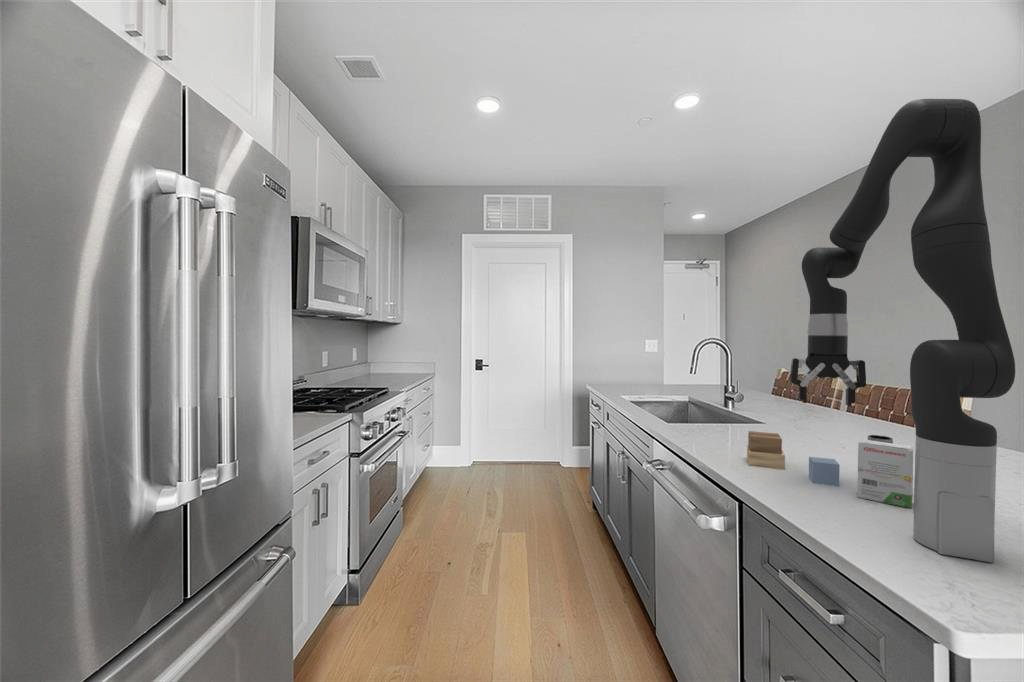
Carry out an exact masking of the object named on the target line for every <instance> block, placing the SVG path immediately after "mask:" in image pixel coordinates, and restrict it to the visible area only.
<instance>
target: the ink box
mask: <svg viewBox="0 0 1024 682" xmlns="http://www.w3.org/2000/svg"><path fill="white" fill-rule="evenodd" d="M857 444H858V446H857V479H856V481H857V482H856V483H857V485H856V487H857V489H856V497H858V498H861V499H866V500H870V501H875V502H879V503H882V504H889V505H894V506H897V507H903V508H906V509H911V508H912V506H913V500H914V446H912V445H905V444H897V443H893V444H892V443H885V442H878V441H871V440H868V439H862V440H860V441H858V443H857Z"/></svg>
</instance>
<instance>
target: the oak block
mask: <svg viewBox="0 0 1024 682" xmlns="http://www.w3.org/2000/svg"><path fill="white" fill-rule="evenodd" d="M746 449H747V450H746V459H747V463H748V467H757V468H767V469H773V470H775V469H776V470H782V471H784V470H786V467H785V465H786V464H785V463H786V455H785V453H784V451H783V450H782V455H780V454H771V453H761V452H751V451H750V449H749V446H748V444H747V445H746Z"/></svg>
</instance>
